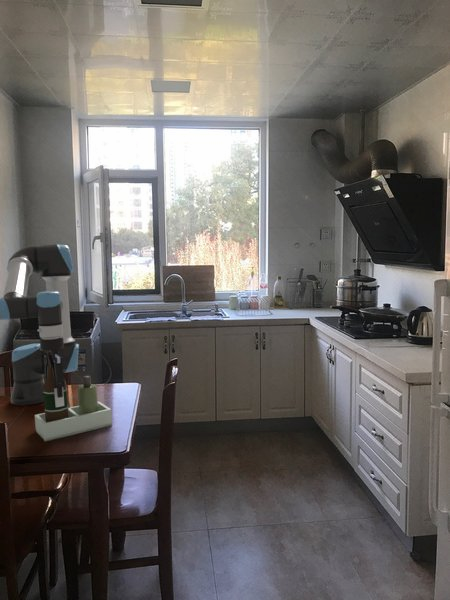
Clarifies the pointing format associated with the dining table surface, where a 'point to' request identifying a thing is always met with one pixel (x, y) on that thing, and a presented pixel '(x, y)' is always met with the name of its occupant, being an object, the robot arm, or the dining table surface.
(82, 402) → the olive bottle
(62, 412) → the beer bottle
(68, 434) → the caddy
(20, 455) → the dining table surface
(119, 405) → the dining table surface
